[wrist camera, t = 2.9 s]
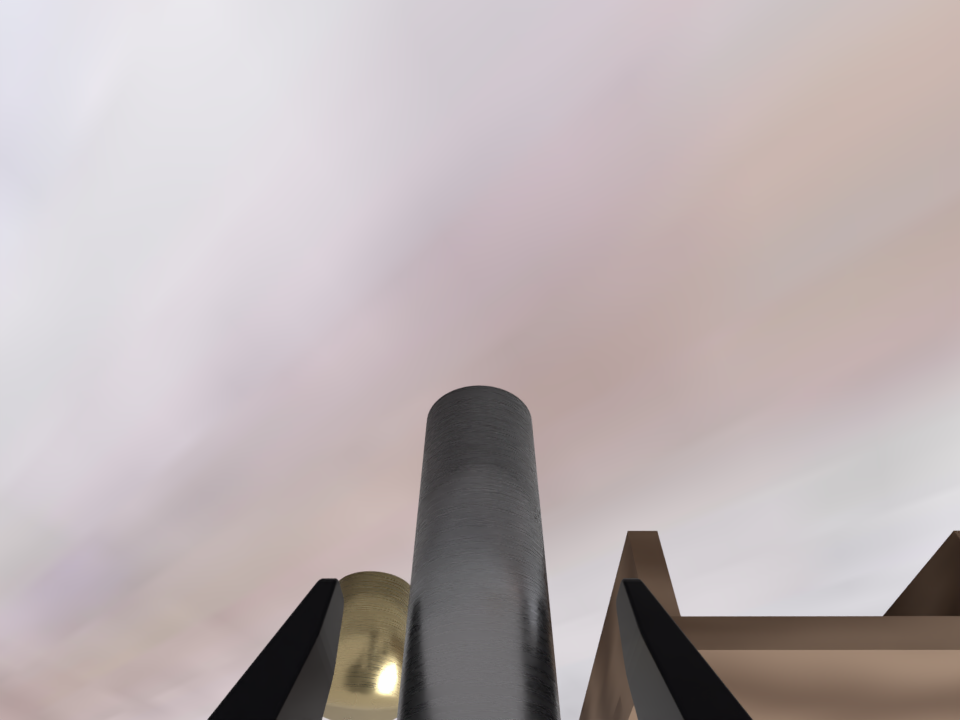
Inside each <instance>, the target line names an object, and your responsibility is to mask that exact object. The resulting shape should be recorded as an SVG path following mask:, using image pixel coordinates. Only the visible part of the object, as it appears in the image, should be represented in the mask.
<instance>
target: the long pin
mask: <svg viewBox="0 0 960 720" xmlns="http://www.w3.org/2000/svg"><path fill="white" fill-rule="evenodd" d="M397 720H561V716H560V706H559V695H558V685H557V674H556V664H555V654H554V643H553V633H552V623H551V612H550V602H549V592H548V581H547V571H546V561H545V550H544V540H543V530H542V519H541V509H540V499H539V488H538V478H537V468H536V457H535V447H534V437H533V426H532V418H531V414H530V412H529V410H528V408H527V406H526V405H525V404H524V403H523V401H521V400H520V399H519V398H518V397H517V396H515V395H514V394H512V393H510V392H508V391H506V390H503V389H500V388H496V387H492V386H482V385H477V386H467V387H462V388H458V389H456V390H453V391H451V392H449V393H447V394H445V395H443V396H442V397H441V398H439V399H438V400H437V401H436V402H435V403H434V405H433V406H432V407H431V409H430V411H429V413H428V417H427V423H426V433H425V443H424V453H423V463H422V473H421V483H420V493H419V503H418V513H417V523H416V533H415V543H414V553H413V563H412V573H411V583H410V593H409V603H408V613H407V623H406V633H405V643H404V653H403V663H402V673H401V683H400V693H399V703H398V713H397Z"/></svg>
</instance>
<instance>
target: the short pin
mask: <svg viewBox="0 0 960 720" xmlns="http://www.w3.org/2000/svg"><path fill="white" fill-rule="evenodd" d="M339 583H340V587H341V590H342V594H343V598H344V610H343V617H342V624H341V631H340V637H339V644H338V651H337V658H336V664H335V670H334V676H333V680H332V684H331V688H330V692H329V696H328V699H327V703H326V707H325V710H324V714H323V717H324V718H327V719H329V720H394V719H396V718H397V713H398V703H399V693H400V683H401V673H402V663H403V653H404V643H405V633H406V623H407V613H408V603H409V593H410V585H409V584H408V583H407V582H406V581H405V580H403V579H401V578H400V577H397V576H395V575H392V574H389V573H384V572H377V571H363V572H356V573H352V574H349V575H347V576H345V577H343V578H342V579H340V580H339Z"/></svg>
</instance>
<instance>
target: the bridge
mask: <svg viewBox="0 0 960 720" xmlns="http://www.w3.org/2000/svg"><path fill="white" fill-rule="evenodd" d="M624 578H638V579H640V580H642V581H643V583H644V584H645V585H646V586H647V588H648V589H649V590H650V591H651V593H652V594H653V595H654V596H655V598H656V599H657V600H658V601H659V603H660V604H661V605H662V606H663V608H664V609H665V610H666V611H667V613H668V614H669V615H670V616H671V618H672V619H673V620H674V621H675V623H676V624H677V625H678V626H679V628H680V629H681V630H682V631H683V633H684V634H685V635H686V636H687V638H688V639H689V640H690V641H691V643H692V644H693V645H694V646H695V648H696V649H697V650H698V651H699V653H700V654H701V655H702V656H703V658H704V659H705V660H706V661H707V663H708V664H709V665H710V667H711V668H712V669H713V670H714V672H715V673H716V674H717V675H718V677H719V678H720V679H721V680H722V682H723V683H724V684H725V685H726V687H727V688H728V689H729V690H730V692H731V693H732V694H733V695H734V697H735V698H736V699H737V700H738V702H739V703H740V704H741V705H742V707H743V708H744V709H745V710H746V712H747V713H748V714H749V715H750V717H751V718H752V719H753V720H960V531H953V532H952V533H951V534H950V535H949V537H948V538H947V539H946V540H945V542H944V543H943V544H942V545H941V546H940V548H939V549H938V550H937V551H936V552H935V554H934V555H933V556H932V557H931V558H930V560H929V561H928V562H927V563H926V564H925V566H924V567H923V568H922V569H921V570H920V572H919V573H918V574H917V575H916V576H915V578H914V579H913V580H912V581H911V583H910V584H909V585H908V586H907V587H906V589H905V590H904V591H903V592H902V593H901V595H900V596H899V597H898V598H897V599H896V601H895V602H894V603H893V604H892V605H891V607H890V608H889V609H888V610H887V611H886V613H885V614H884V615H883V616H681V615H680V611H679V608H678V604H677V600H676V597H675V593H674V589H673V586H672V582H671V579H670V575H669V571H668V568H667V564H666V560H665V557H664V553H663V550H662V546H661V542H660V539H659V535H658V531H628V532H627V535H626V539H625V543H624V547H623V551H622V555H621V559H620V563H619V566H618V570H617V574H616V578H615V582H614V586H613V590H612V594H611V597H610V601H609V605H608V609H607V613H606V617H605V621H604V625H603V628H602V632H601V636H600V640H599V644H598V648H597V652H596V656H595V659H594V663H593V667H592V671H591V675H590V679H589V683H588V687H587V690H586V694H585V698H584V702H583V706H582V710H581V714H580V718H579V720H638V718H637V714H636V711H635V707H634V703H633V699H632V696H631V692H630V688H629V684H628V680H627V676H626V670H625V665H624V658H623V651H622V644H621V638H620V631H619V624H618V617H617V610H616V598H617V594H618V590H619V586H620V583H621V580H622V579H624Z"/></svg>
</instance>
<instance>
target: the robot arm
mask: <svg viewBox="0 0 960 720" xmlns="http://www.w3.org/2000/svg"><path fill="white" fill-rule="evenodd" d="M343 610H344V598H343V594H342V590H341V587H340V583H339V580H338V579H336V578H322V579H320V580H318V581H317V583H316V584H315V585H314V586H313V588H312V589H311V590H310V591H309V593H308V594H307V595H306V596H305V598H304V599H303V600H302V601H301V603H300V604H299V605H298V606H297V608H296V609H295V610H294V611H293V613H292V614H291V615H290V616H289V618H288V619H287V620H286V621H285V623H284V624H283V625H282V626H281V628H280V629H279V630H278V631H277V633H276V634H275V635H274V636H273V638H272V639H271V640H270V641H269V643H268V644H267V645H266V646H265V648H264V649H263V650H262V651H261V653H260V654H259V655H258V656H257V658H256V659H255V660H254V661H253V663H252V664H251V665H250V666H249V668H248V669H247V670H246V671H245V673H244V674H243V675H242V676H241V678H240V679H239V680H238V681H237V683H236V684H235V685H234V687H233V688H232V689H231V690H230V692H229V693H228V694H227V695H226V697H225V698H224V699H223V700H222V702H221V703H220V704H219V705H218V707H217V708H216V709H215V710H214V712H213V713H212V714H211V715H210V717H209V718H208V719H207V720H322V718H323V714H324V710H325V707H326V703H327V699H328V696H329V692H330V688H331V684H332V680H333V676H334V670H335V664H336V658H337V651H338V644H339V637H340V631H341V624H342V617H343ZM616 610H617V617H618V624H619V631H620V638H621V644H622V651H623V658H624V665H625V670H626V676H627V680H628V684H629V688H630V692H631V696H632V699H633V703H634V707H635V711H636V714H637V718H638V720H753V719H752V718H751V717H750V715H749V714H748V713H747V712H746V710H745V709H744V708H743V707H742V705H741V704H740V703H739V702H738V700H737V699H736V698H735V697H734V695H733V694H732V693H731V692H730V690H729V689H728V688H727V687H726V685H725V684H724V683H723V682H722V680H721V679H720V678H719V677H718V675H717V674H716V673H715V672H714V670H713V669H712V668H711V667H710V665H709V664H708V663H707V661H706V660H705V659H704V658H703V656H702V655H701V654H700V653H699V651H698V650H697V649H696V648H695V646H694V645H693V644H692V643H691V641H690V640H689V639H688V638H687V636H686V635H685V634H684V633H683V631H682V630H681V629H680V628H679V626H678V625H677V624H676V623H675V621H674V620H673V619H672V618H671V616H670V615H669V614H668V613H667V611H666V610H665V609H664V608H663V606H662V605H661V604H660V603H659V601H658V600H657V599H656V598H655V596H654V595H653V594H652V593H651V591H650V590H649V589H648V588H647V586H646V585H645V584H644V583H643V581H642V580H640V579H638V578H624V579H622V580H621V583H620V586H619V590H618V594H617V598H616Z"/></svg>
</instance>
